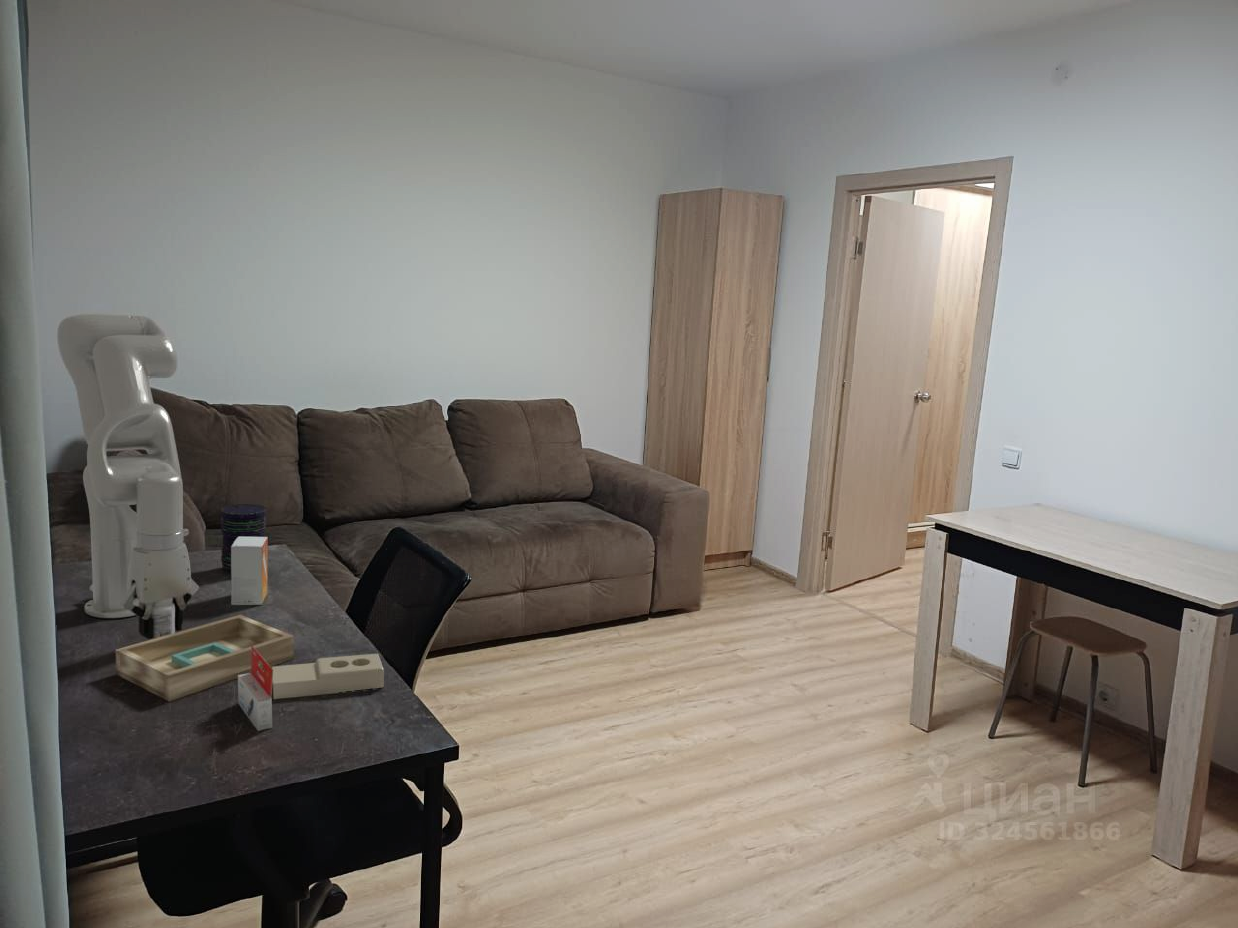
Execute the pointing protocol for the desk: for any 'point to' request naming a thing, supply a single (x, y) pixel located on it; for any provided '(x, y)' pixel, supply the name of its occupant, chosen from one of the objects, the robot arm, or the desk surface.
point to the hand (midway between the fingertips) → (161, 631)
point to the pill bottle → (163, 618)
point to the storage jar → (240, 528)
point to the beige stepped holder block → (328, 676)
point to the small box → (249, 570)
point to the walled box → (202, 656)
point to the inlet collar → (199, 653)
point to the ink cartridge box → (257, 692)
